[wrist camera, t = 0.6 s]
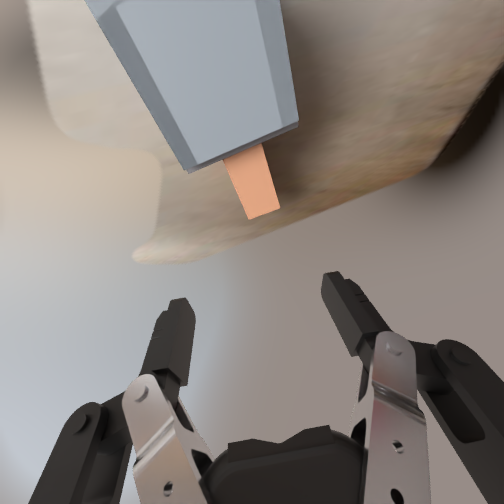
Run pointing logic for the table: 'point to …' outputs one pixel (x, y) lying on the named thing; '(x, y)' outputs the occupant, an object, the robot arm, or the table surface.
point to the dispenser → (205, 71)
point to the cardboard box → (252, 181)
